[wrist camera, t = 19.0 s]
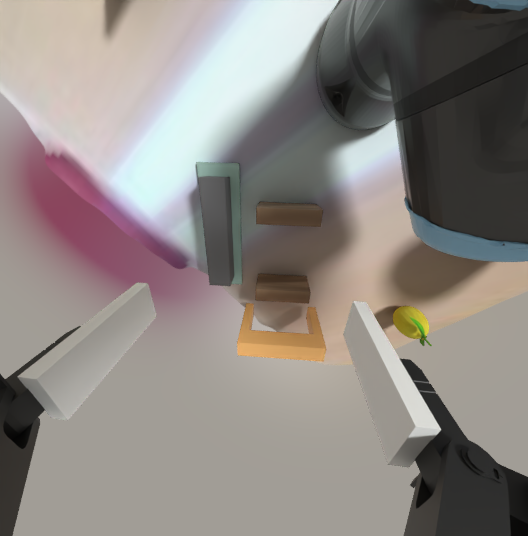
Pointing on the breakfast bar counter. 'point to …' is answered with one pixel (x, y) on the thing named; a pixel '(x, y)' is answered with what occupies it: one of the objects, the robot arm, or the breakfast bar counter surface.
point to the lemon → (411, 323)
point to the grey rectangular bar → (217, 228)
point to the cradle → (285, 285)
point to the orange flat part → (282, 340)
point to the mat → (234, 174)
